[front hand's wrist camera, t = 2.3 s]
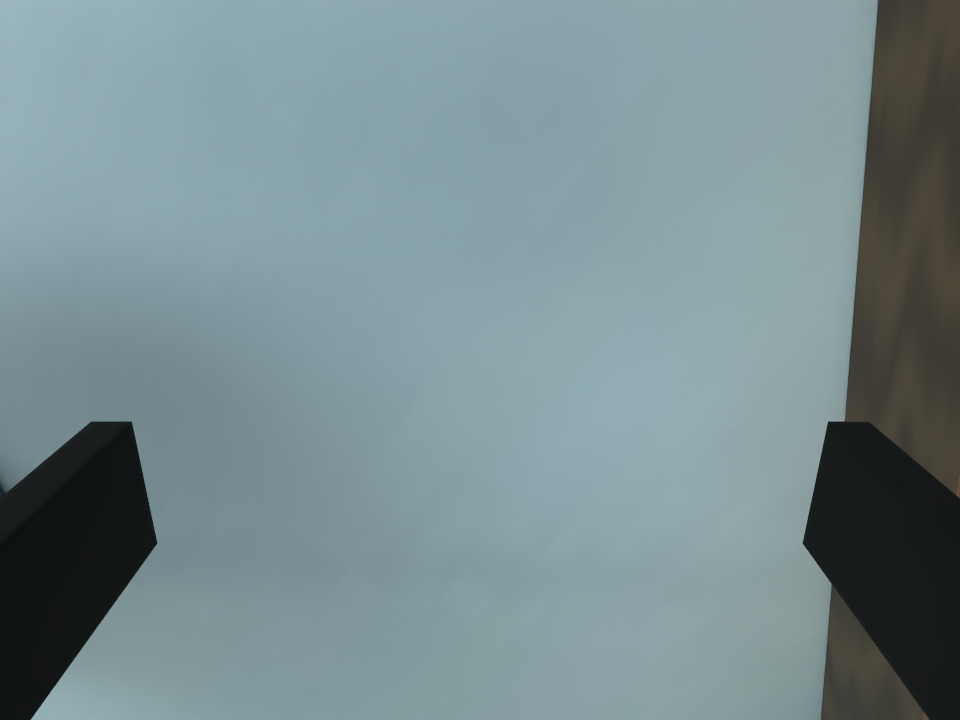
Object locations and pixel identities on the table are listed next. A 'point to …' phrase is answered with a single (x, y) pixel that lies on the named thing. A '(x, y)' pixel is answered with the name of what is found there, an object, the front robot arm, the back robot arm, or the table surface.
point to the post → (904, 301)
